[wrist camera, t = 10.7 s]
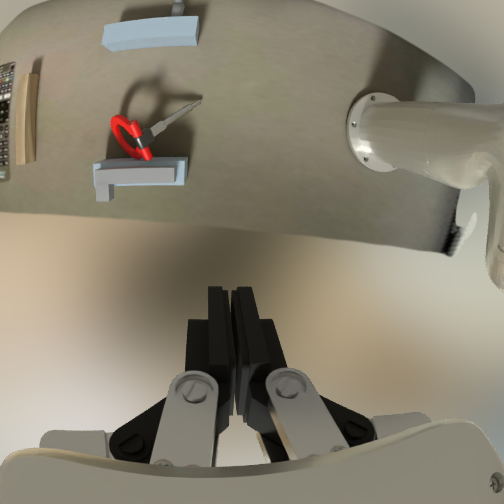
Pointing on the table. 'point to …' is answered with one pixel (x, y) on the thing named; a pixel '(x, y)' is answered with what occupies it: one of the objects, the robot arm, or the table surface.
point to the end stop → (26, 118)
